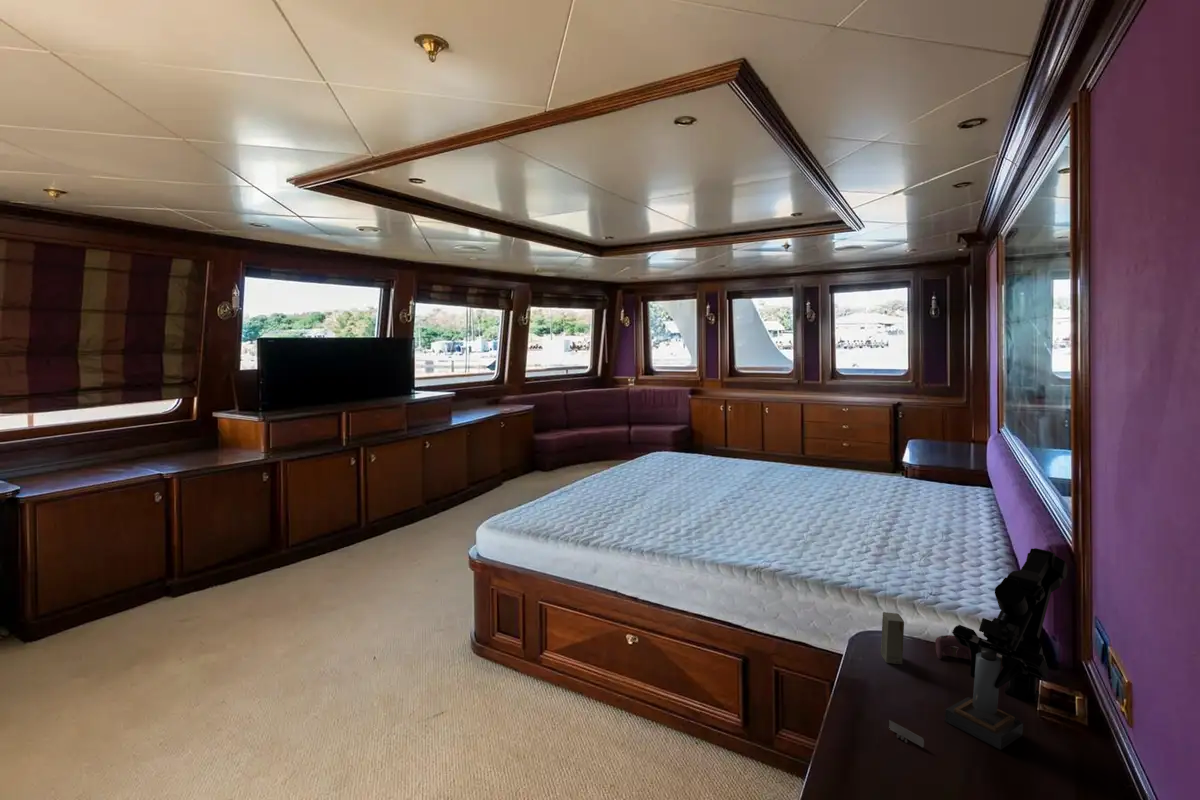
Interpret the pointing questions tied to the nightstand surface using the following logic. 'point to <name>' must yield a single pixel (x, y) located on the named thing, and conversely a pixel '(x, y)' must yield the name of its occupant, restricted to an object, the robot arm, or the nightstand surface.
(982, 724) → the grey rectangular box
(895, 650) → the skincare box
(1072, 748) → the nightstand surface
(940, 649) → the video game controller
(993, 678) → the white capped bottle
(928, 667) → the nightstand surface
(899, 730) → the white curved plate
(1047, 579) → the robot arm
